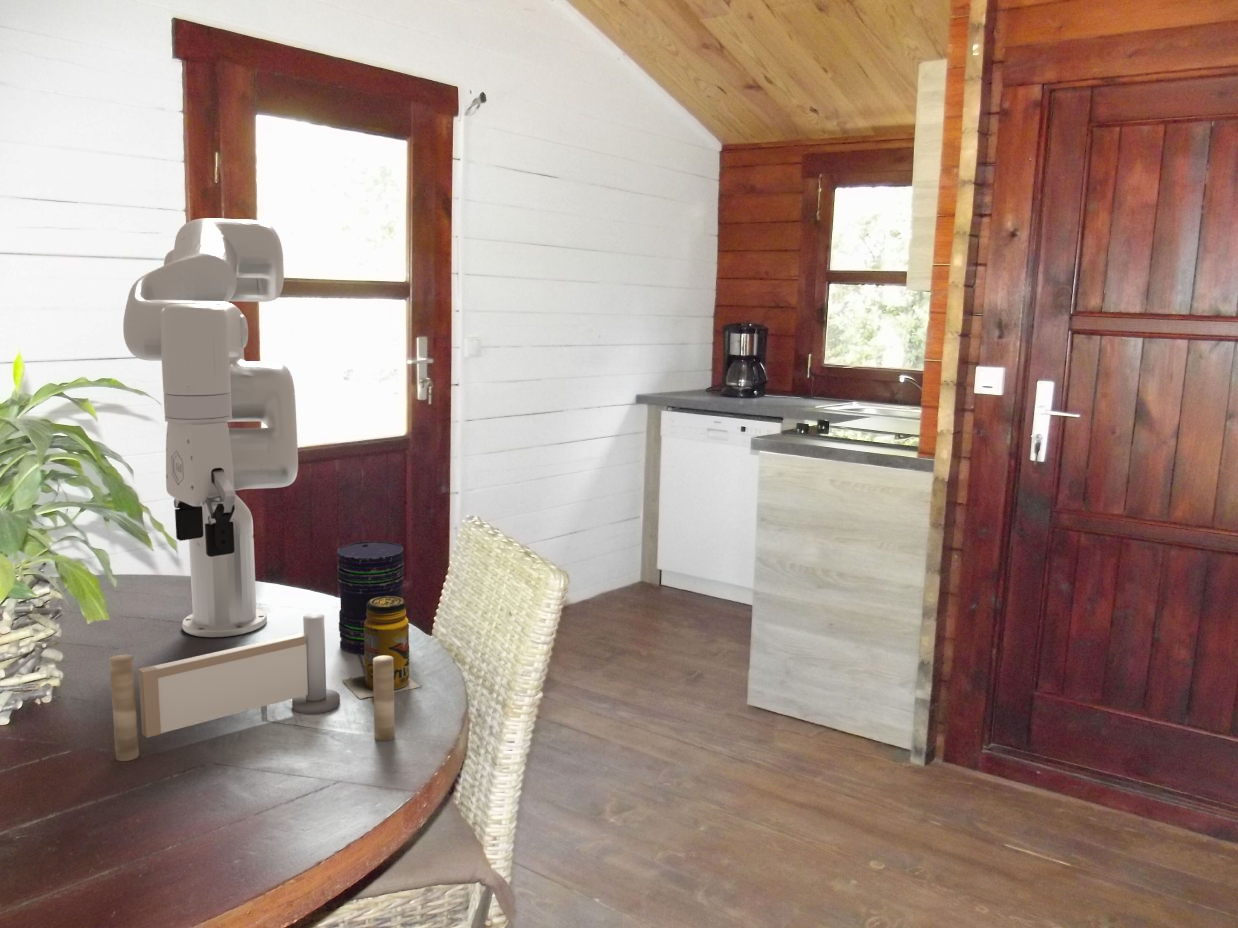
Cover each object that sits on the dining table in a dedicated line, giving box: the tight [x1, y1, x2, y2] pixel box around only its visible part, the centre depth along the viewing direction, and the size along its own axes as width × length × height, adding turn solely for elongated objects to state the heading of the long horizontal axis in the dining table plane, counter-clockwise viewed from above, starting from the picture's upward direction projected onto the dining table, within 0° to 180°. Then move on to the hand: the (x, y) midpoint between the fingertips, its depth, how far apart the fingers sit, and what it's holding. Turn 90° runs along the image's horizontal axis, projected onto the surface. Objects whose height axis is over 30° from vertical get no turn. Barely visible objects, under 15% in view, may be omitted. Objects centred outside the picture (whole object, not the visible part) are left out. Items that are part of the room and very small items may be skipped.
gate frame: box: [109, 653, 395, 762], centre depth 122 cm, size 18×28×12 cm, turn 132°
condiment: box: [342, 596, 420, 700], centre depth 141 cm, size 7×8×12 cm
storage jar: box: [337, 541, 405, 656], centre depth 156 cm, size 10×10×15 cm
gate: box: [137, 612, 327, 739], centre depth 127 cm, size 23×3×11 cm, turn 132°
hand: (204, 546), depth 127 cm, fingers open, 9 cm apart
